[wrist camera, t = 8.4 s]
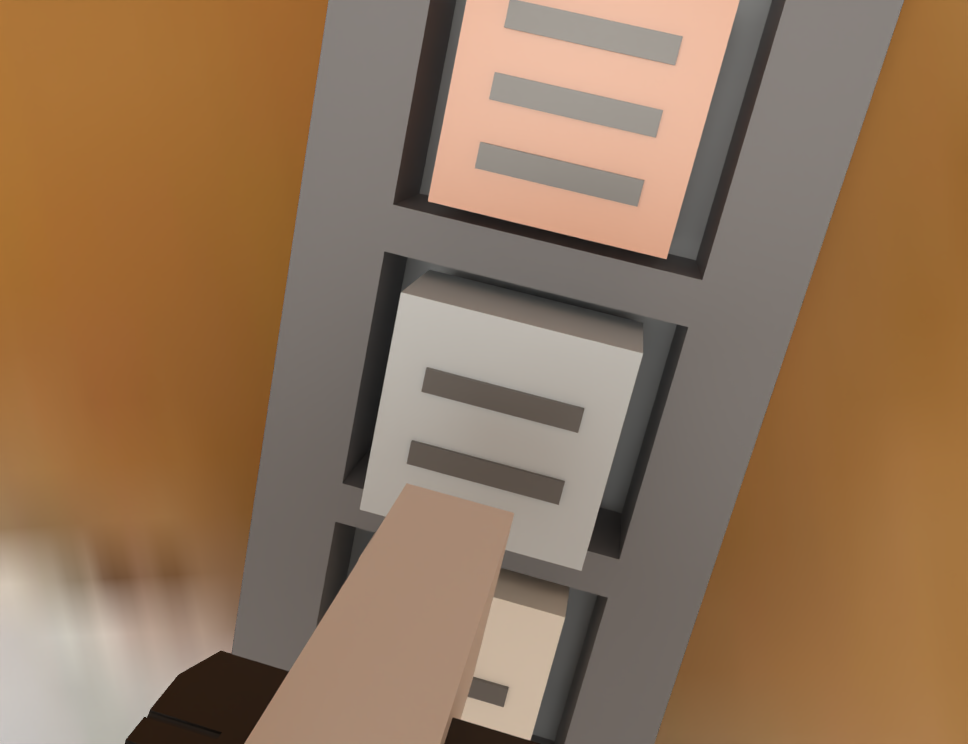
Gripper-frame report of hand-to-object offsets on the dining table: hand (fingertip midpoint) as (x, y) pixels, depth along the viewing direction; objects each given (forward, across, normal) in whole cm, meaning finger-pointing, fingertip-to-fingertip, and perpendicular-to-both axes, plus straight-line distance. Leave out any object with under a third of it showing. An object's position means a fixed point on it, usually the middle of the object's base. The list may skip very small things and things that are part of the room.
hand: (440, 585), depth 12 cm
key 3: (+9, 0, +6) cm, 11 cm away
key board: (+11, 0, 0) cm, 11 cm away
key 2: (+9, 0, 0) cm, 9 cm away
